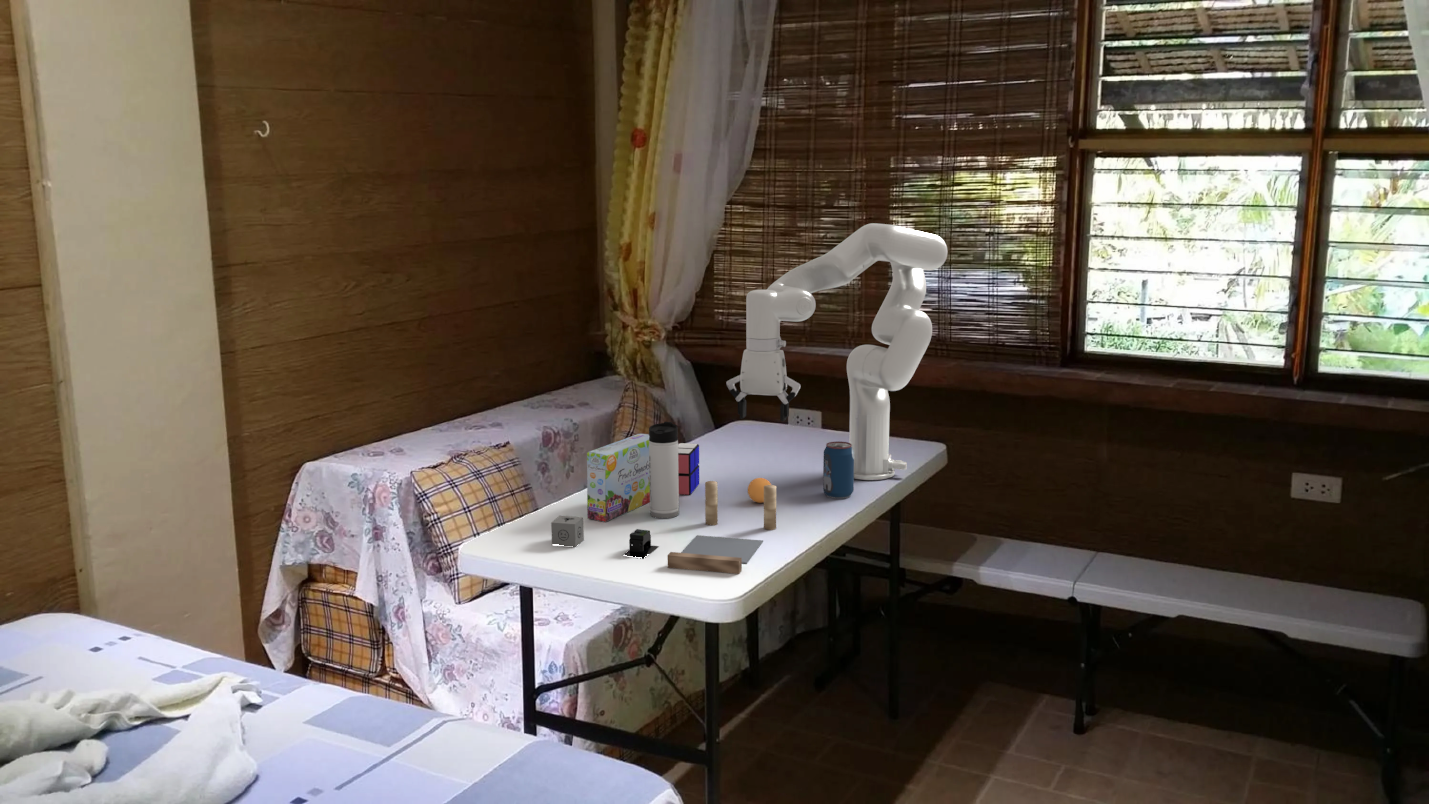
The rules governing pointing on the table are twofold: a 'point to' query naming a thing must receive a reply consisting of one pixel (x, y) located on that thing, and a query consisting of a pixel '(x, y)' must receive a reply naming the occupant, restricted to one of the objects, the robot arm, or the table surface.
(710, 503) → the post far
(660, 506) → the travel mug
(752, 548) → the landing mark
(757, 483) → the ball
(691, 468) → the puzzle cube
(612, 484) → the snack box
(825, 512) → the table surface
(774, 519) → the post near
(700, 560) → the stopper wall
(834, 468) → the soda can
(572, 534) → the dice cube
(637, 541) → the black boxy piece
